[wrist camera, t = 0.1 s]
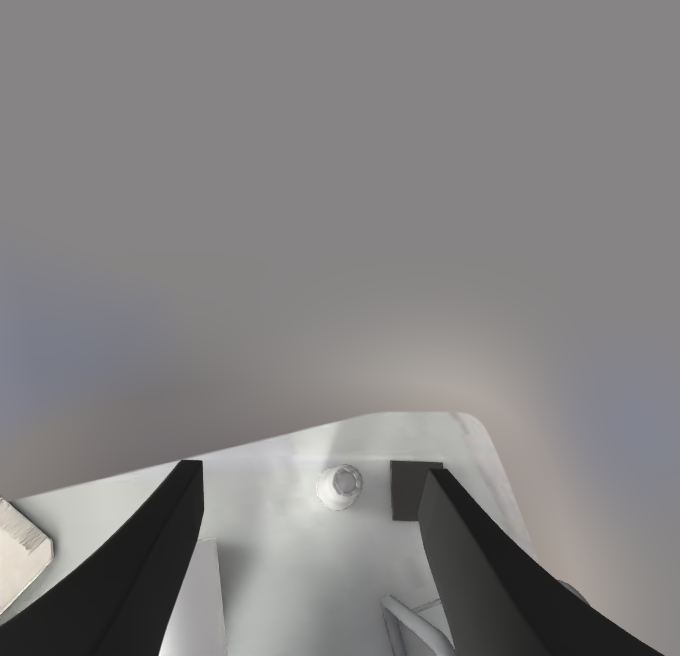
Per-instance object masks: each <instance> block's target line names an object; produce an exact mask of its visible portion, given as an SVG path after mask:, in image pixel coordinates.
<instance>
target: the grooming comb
mask: <svg viewBox="0 0 680 656" xmlns="http://www.w3.org/2000/svg"><path fill="white" fill-rule="evenodd" d="M41 532H42V531H41V530H40V529H39V528H37V526H35V525H33V523H32V522H31V521H30V520H28V519H27V518H26V517H25V516H24V515H23V514H21V513H20V512H19V511H17V509H15V508H14V507H13V506H12V505H10V503H8V501H6V500H5V499H4V498H3V497H1V496H0V615H1V614H2V613H3V612H4V611H5V609H6V608H7V607H8V606H9V605H10V604H11V603H12V602H13V601H14V600H15V599H16V598H17V597H18V596H19V595H20V594H21V593H22V592H23V591H24V590H25V589H26V588H27V587H28V586H29V585H30V584H31V583H32V582H33V581H34V580H35V579H36V577H37V576H38V575H39V574H40V573H41V572H42V571H43V570H44V568H45V567H46V566H47V565H48V564H49V563H50V562H51V561H52V559H53V558H54V552H53V540H52V539H51V538H50V537H48V536H47V535H46V534H45V533H43V532H42V533H41ZM47 537H48V538H47Z"/></svg>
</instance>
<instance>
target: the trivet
mask: <svg viewBox="0 0 680 656" xmlns="http://www.w3.org/2000/svg"><path fill="white" fill-rule="evenodd" d="M429 468H436V469H443V463H438V462H410V461H390V469H391V497H392V520H400V521H419V520H418V511H419V507H420V503H421V499H422V495H423V490H424V486H425V482H426V478H427V474H428V470H429Z"/></svg>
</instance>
